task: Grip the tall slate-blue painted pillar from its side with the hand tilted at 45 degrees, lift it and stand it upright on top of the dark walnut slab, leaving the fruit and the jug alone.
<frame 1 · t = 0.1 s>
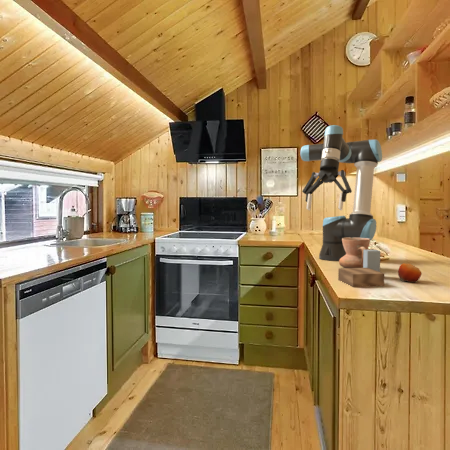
hand: (323, 209, 147), 28 cm above the countertop, tool tilted 20°, fingers open, 13 cm apart
ceramic jug: (355, 269, 165), on the countertop
pillar: (371, 276, 148), on the countertop
fruit: (409, 282, 139), on the countertop
walnut slab: (360, 283, 137), on the countertop
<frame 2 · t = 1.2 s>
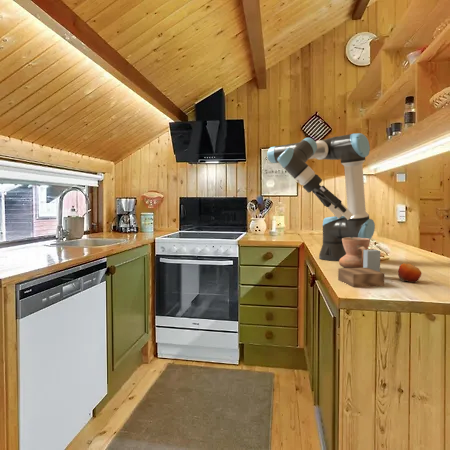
hand: (345, 217, 147), 25 cm above the countertop, tool tilted 45°, fingers open, 13 cm apart
nothing on the countertop moved.
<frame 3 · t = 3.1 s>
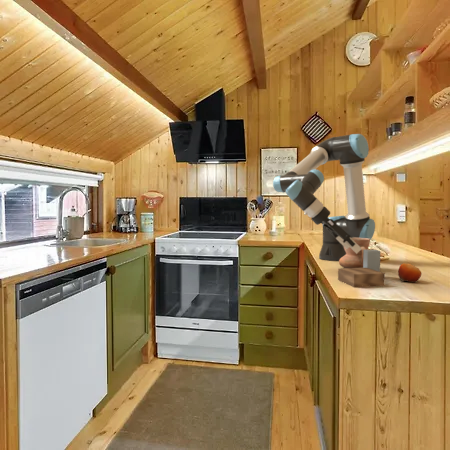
hand: (353, 249, 147), 12 cm above the countertop, tool tilted 45°, fingers open, 13 cm apart
nothing on the countertop moved.
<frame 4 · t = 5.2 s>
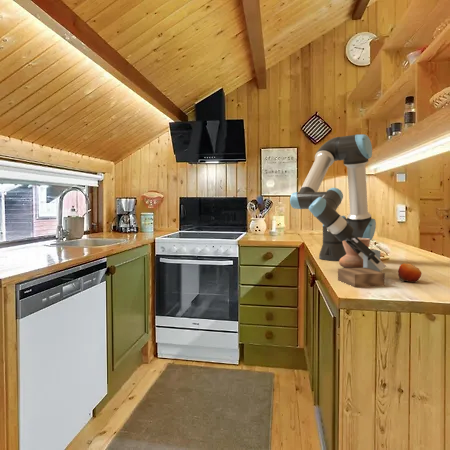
hand: (377, 265, 147), 5 cm above the countertop, tool tilted 45°, fingers open, 13 cm apart
nothing on the countertop moved.
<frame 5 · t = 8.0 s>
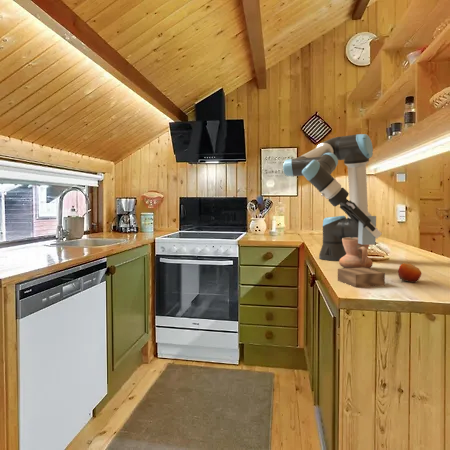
hand: (376, 235, 141), 18 cm above the countertop, tool tilted 45°, fingers closed on pillar, 5 cm apart
pillar: (366, 243, 141), point 14 cm above the countertop, touching gripper
everything else where it was.
when the fingers open (9 cm above the countertop, at t = 10.4 s): pillar drops 1 cm, resting on walnut slab.
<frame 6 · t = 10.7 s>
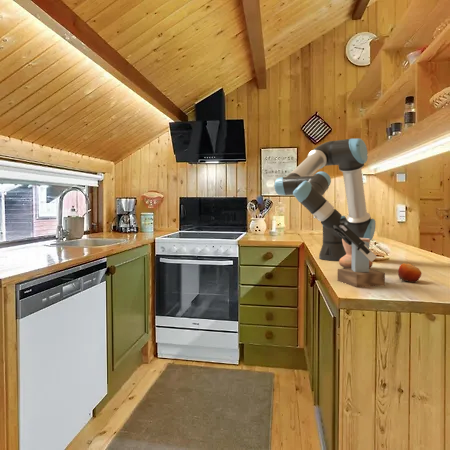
hand: (369, 257, 136), 10 cm above the countertop, tool tilted 45°, fingers open, 9 cm apart
pillar: (360, 270, 136), point 5 cm above the countertop, touching walnut slab
walnut slab: (360, 284, 137), on the countertop, touching pillar
everything else where it was.
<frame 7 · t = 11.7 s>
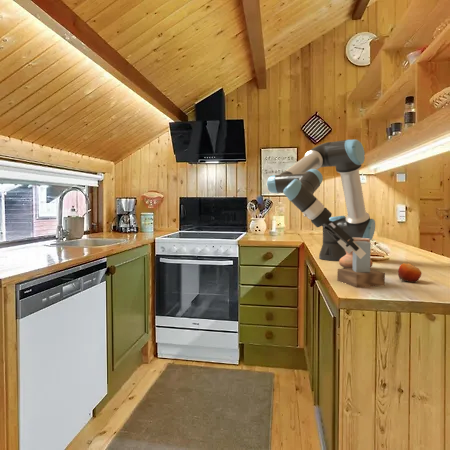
hand: (357, 253, 136), 11 cm above the countertop, tool tilted 45°, fingers open, 13 cm apart
pillar: (361, 271, 136), point 5 cm above the countertop
walnut slab: (360, 284, 137), on the countertop
everything else where it was.
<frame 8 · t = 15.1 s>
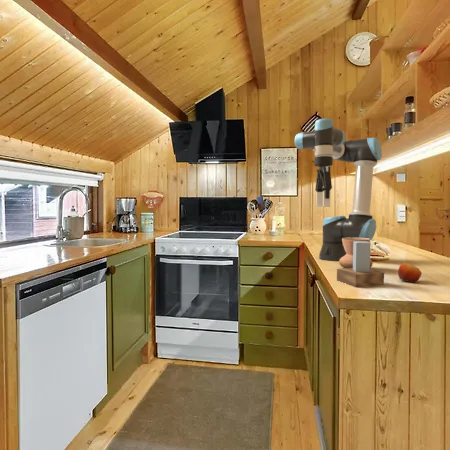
hand: (322, 206, 154), 29 cm above the countertop, tool pointing down, fingers open, 13 cm apart
pillar: (361, 270, 136), point 5 cm above the countertop, touching walnut slab
walnut slab: (359, 283, 137), on the countertop, touching pillar
everything else where it was.
at the end: pillar inside the target area on the walnut slab (0.5 cm from its centre), point 5.0 cm above the walnut slab's base; pillar tilted 1°; the gripper is holding nothing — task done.
